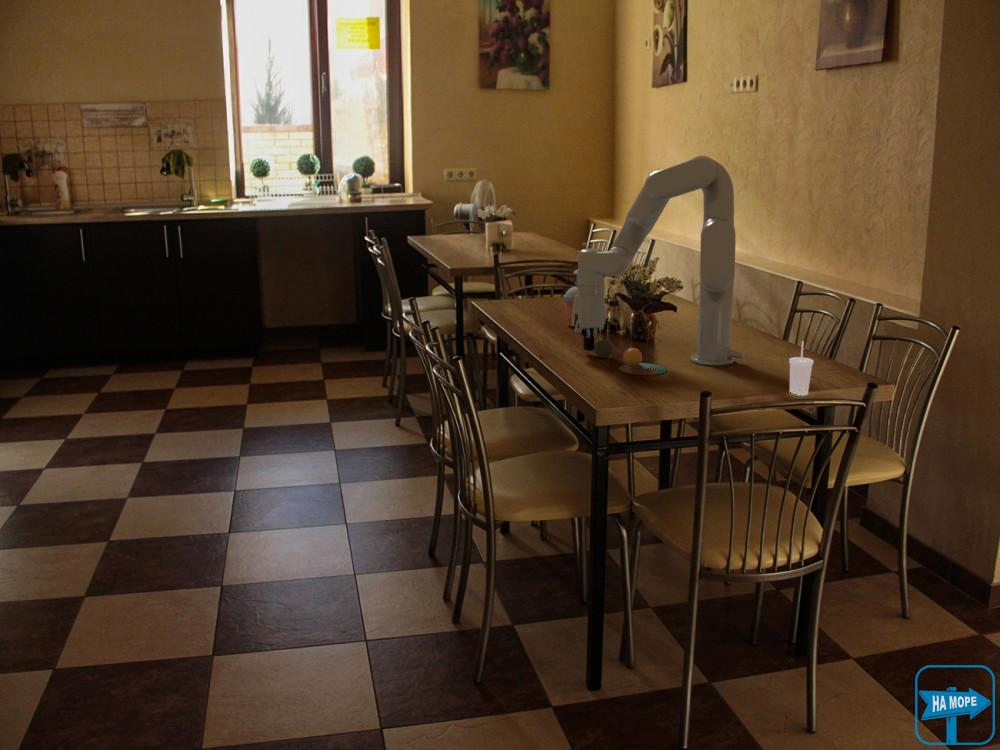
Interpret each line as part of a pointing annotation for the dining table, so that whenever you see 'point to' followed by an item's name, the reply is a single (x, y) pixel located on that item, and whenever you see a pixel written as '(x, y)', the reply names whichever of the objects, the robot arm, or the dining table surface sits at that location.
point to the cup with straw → (570, 301)
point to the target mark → (658, 368)
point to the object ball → (632, 357)
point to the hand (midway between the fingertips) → (588, 349)
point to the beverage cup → (800, 374)
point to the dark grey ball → (603, 349)
